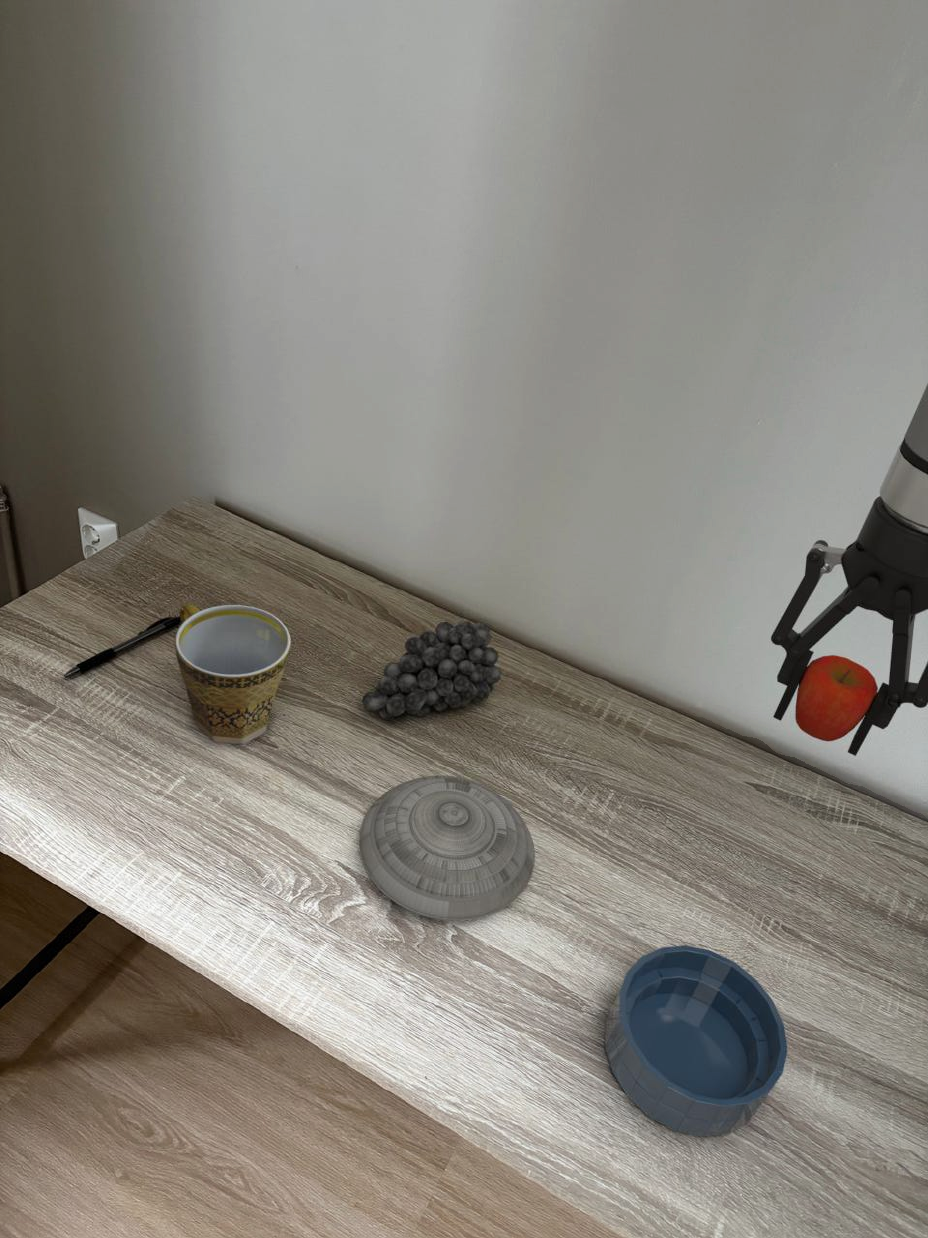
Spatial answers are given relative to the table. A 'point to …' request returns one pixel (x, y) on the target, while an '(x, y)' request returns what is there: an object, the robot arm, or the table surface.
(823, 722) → the apple
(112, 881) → the table surface
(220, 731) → the ceramic cup
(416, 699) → the fruit
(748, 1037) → the bowl
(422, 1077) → the table surface
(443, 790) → the flying saucer
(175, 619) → the pen
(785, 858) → the table surface
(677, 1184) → the table surface
